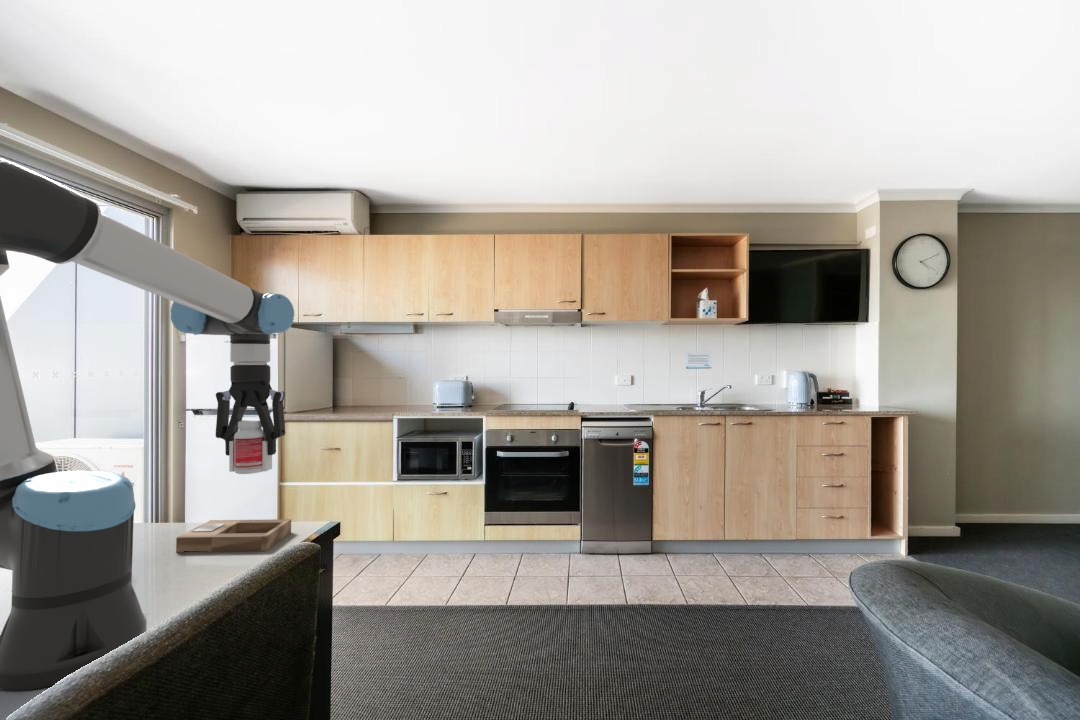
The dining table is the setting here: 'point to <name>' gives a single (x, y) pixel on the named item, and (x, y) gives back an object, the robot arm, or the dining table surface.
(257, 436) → the pill bottle
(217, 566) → the dining table surface
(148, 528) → the dining table surface
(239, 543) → the socket block
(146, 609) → the dining table surface
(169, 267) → the robot arm
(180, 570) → the dining table surface
